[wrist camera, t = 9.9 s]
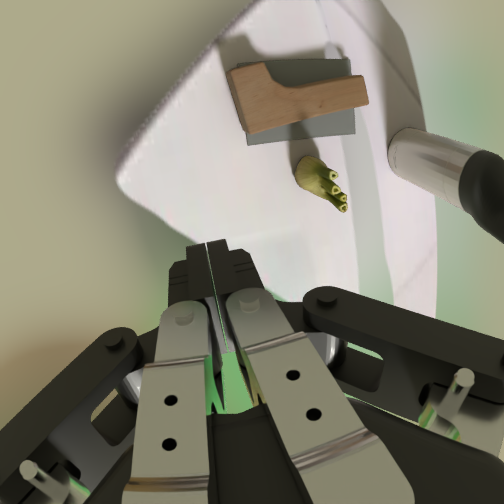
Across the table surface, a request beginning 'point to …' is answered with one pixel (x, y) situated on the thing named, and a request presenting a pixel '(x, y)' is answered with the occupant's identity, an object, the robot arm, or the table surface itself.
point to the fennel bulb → (320, 181)
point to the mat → (300, 74)
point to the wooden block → (289, 97)
